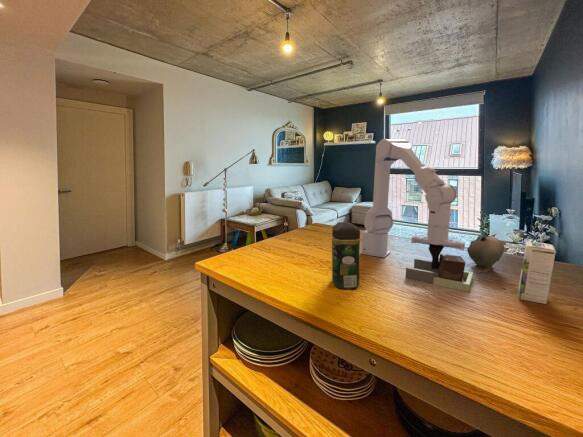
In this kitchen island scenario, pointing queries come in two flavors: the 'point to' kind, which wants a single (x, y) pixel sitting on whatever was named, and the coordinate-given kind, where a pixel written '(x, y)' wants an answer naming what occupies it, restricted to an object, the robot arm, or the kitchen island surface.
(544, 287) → the syrup box
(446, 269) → the box
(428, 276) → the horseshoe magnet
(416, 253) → the kitchen island surface
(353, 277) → the coffee jar
